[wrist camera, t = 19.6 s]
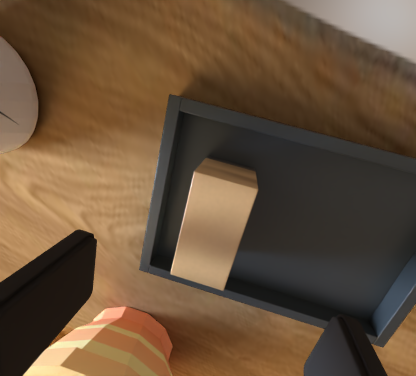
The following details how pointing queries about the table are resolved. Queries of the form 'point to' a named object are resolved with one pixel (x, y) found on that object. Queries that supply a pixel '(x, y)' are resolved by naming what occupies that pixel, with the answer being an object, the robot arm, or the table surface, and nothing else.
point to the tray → (296, 218)
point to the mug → (15, 100)
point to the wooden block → (214, 221)
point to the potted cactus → (109, 348)
